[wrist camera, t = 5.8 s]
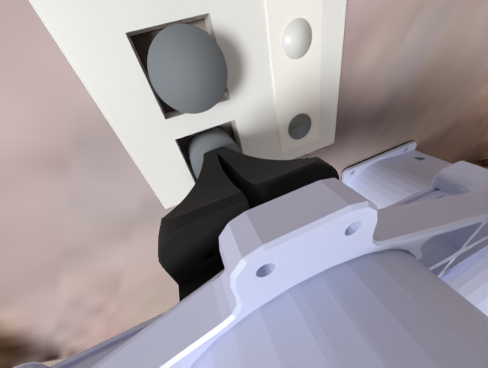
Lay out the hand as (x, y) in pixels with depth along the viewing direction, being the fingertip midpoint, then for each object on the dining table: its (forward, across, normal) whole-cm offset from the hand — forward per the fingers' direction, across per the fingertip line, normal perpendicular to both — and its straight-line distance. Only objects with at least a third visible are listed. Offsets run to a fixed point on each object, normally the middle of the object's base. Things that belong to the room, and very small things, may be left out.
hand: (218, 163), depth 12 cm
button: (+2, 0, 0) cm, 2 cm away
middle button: (+1, 0, -5) cm, 5 cm away
